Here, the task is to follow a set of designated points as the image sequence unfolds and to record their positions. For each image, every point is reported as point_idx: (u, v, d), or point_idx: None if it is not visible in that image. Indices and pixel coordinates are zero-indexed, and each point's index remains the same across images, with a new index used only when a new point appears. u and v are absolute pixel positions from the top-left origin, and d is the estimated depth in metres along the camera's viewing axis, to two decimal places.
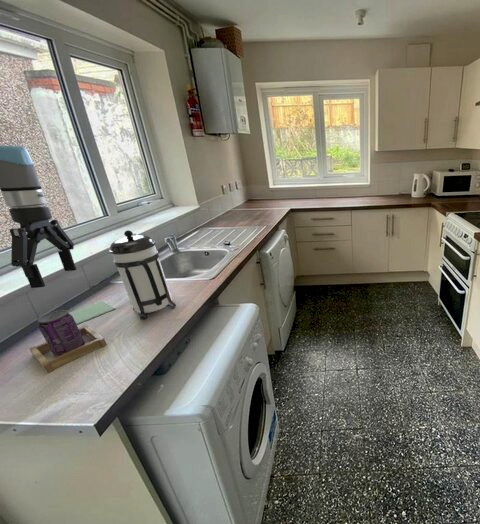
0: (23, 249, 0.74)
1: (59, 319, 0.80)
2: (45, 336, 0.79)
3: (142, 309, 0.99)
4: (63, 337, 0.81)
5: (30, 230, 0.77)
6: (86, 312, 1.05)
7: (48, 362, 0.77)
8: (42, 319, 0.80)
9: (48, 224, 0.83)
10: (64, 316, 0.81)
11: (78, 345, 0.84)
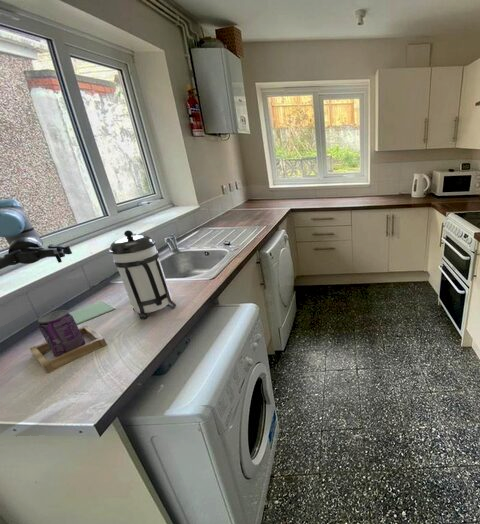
0: None
1: (59, 319, 0.80)
2: (45, 336, 0.79)
3: (142, 309, 0.99)
4: (63, 337, 0.81)
5: None
6: (86, 312, 1.05)
7: (48, 362, 0.77)
8: (42, 319, 0.80)
9: None
10: (64, 316, 0.81)
11: (78, 345, 0.84)
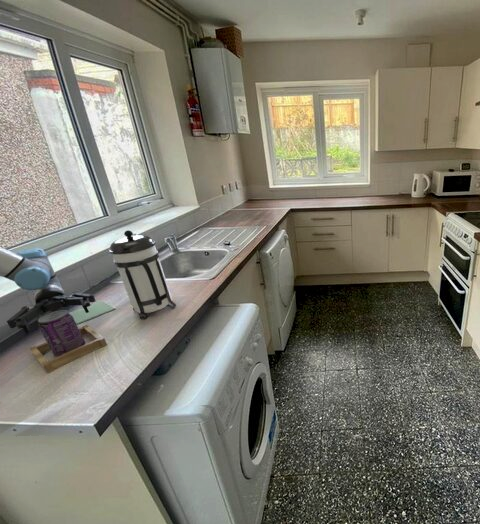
0: None
1: (59, 319, 0.80)
2: (45, 336, 0.79)
3: (142, 309, 0.99)
4: (63, 337, 0.81)
5: None
6: None
7: (48, 362, 0.77)
8: (42, 319, 0.80)
9: None
10: (64, 316, 0.81)
11: (78, 345, 0.84)
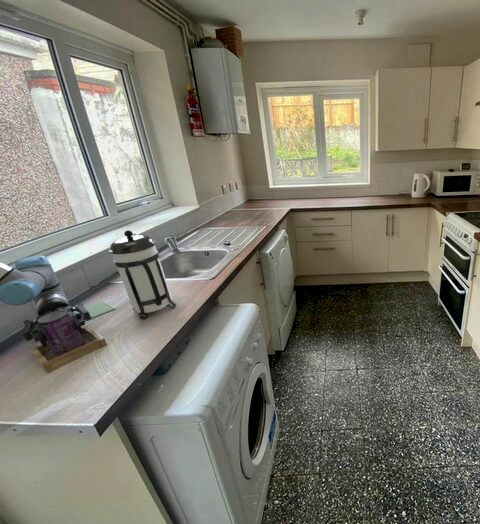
0: None
1: (59, 319, 0.80)
2: (45, 336, 0.79)
3: (142, 309, 0.99)
4: (63, 337, 0.81)
5: None
6: None
7: (48, 362, 0.77)
8: (42, 319, 0.80)
9: None
10: (64, 316, 0.81)
11: (78, 345, 0.84)
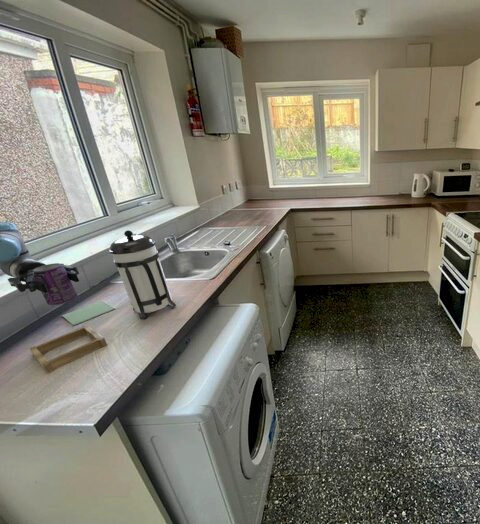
0: None
1: (55, 268, 0.87)
2: None
3: (142, 309, 0.99)
4: (60, 285, 0.88)
5: None
6: (86, 312, 1.05)
7: (48, 362, 0.77)
8: (37, 270, 0.86)
9: None
10: (59, 266, 0.88)
11: (73, 295, 0.92)
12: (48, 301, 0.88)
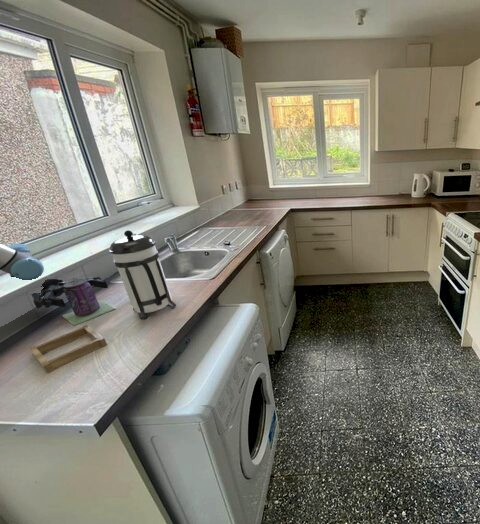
0: None
1: (84, 283, 1.00)
2: (73, 298, 0.99)
3: (142, 309, 0.99)
4: (88, 297, 1.01)
5: None
6: None
7: (48, 362, 0.77)
8: (67, 286, 0.99)
9: None
10: (86, 281, 1.02)
11: (97, 305, 1.05)
12: (77, 312, 1.01)
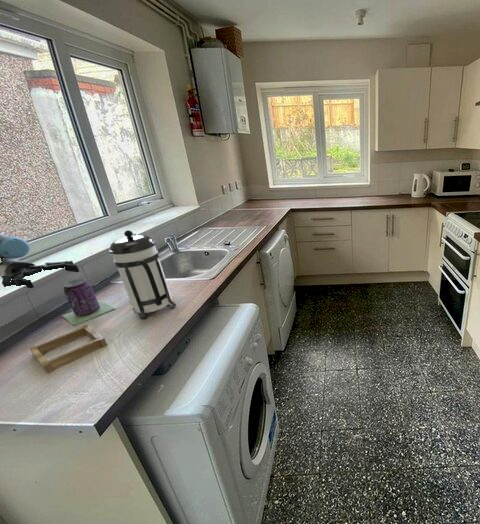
0: None
1: (84, 283, 1.01)
2: (73, 298, 0.99)
3: (142, 309, 0.99)
4: (88, 297, 1.01)
5: None
6: None
7: (48, 362, 0.77)
8: (67, 286, 0.99)
9: None
10: (86, 281, 1.02)
11: (97, 305, 1.05)
12: (77, 312, 1.01)
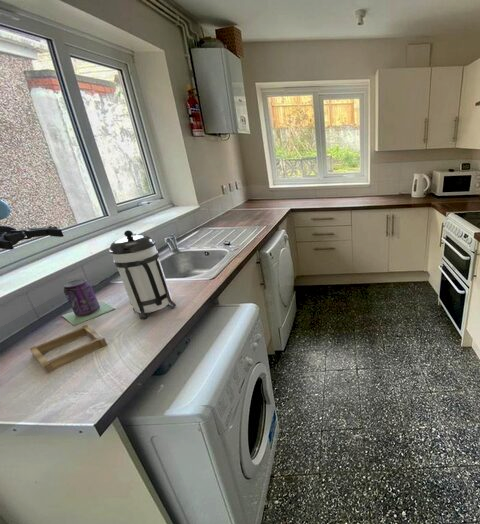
0: None
1: (84, 283, 1.01)
2: (73, 298, 0.99)
3: (142, 309, 0.99)
4: (88, 297, 1.01)
5: (25, 236, 1.05)
6: None
7: (48, 362, 0.77)
8: (67, 285, 0.99)
9: None
10: (86, 281, 1.02)
11: (97, 305, 1.05)
12: (77, 312, 1.01)
